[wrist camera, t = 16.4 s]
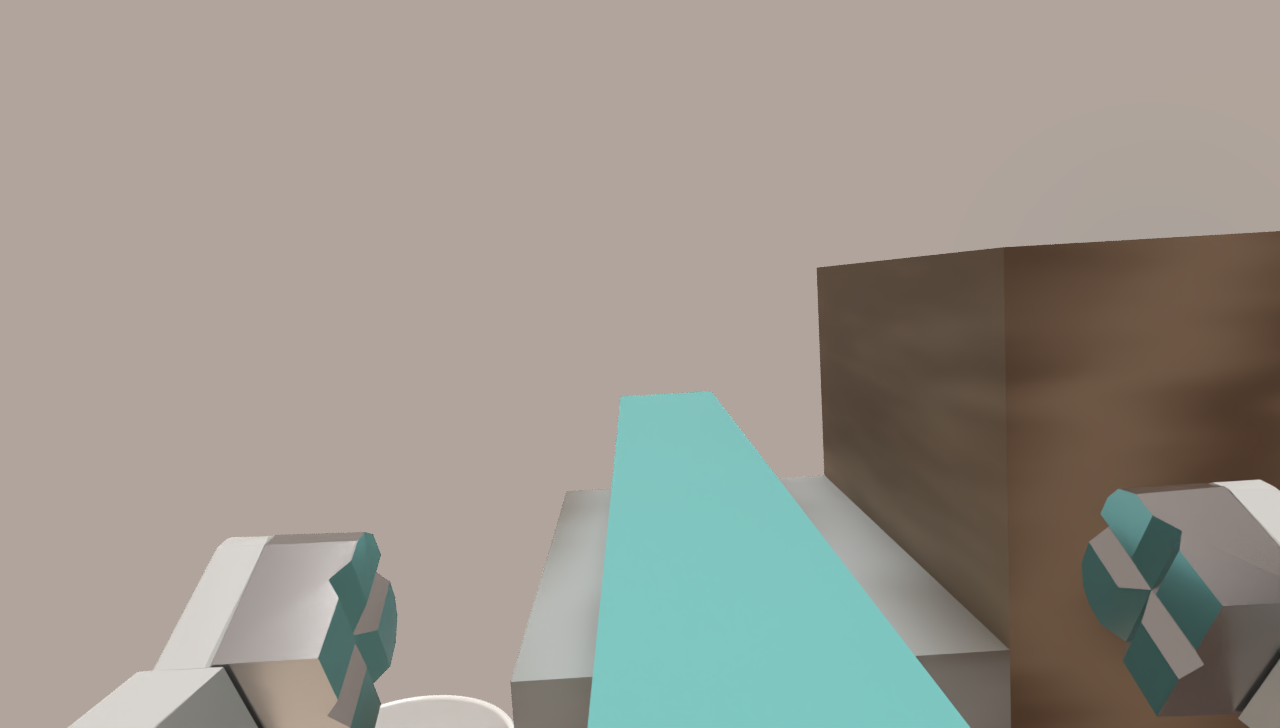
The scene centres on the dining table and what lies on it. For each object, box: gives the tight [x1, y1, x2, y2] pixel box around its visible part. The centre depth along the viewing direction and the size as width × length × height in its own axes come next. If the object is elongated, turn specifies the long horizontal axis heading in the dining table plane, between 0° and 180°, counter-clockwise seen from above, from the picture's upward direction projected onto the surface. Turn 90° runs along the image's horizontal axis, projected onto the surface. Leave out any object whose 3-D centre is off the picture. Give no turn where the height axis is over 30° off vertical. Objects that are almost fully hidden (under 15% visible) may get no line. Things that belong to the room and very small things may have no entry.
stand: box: [511, 231, 1280, 728], centre depth 24 cm, size 22×15×26 cm
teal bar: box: [588, 391, 970, 728], centre depth 19 cm, size 4×24×4 cm, turn 0°
